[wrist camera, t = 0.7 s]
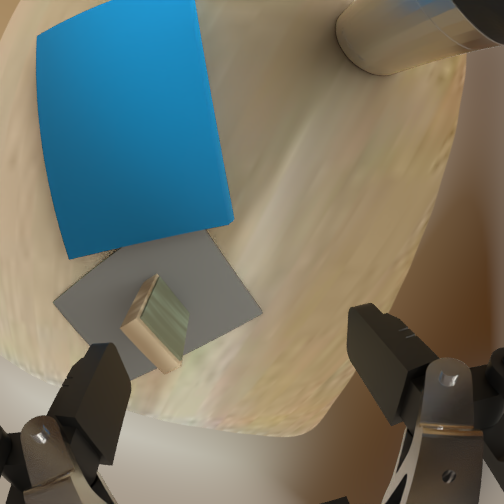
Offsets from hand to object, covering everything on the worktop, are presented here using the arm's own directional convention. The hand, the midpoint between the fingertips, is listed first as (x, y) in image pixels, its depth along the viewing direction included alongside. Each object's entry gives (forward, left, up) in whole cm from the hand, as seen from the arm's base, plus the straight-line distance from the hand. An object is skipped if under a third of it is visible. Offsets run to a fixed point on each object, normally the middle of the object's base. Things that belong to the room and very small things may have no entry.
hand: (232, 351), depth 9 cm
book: (+3, -14, -22) cm, 26 cm away
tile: (+11, +4, -21) cm, 24 cm away
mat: (+14, +4, -22) cm, 26 cm away
